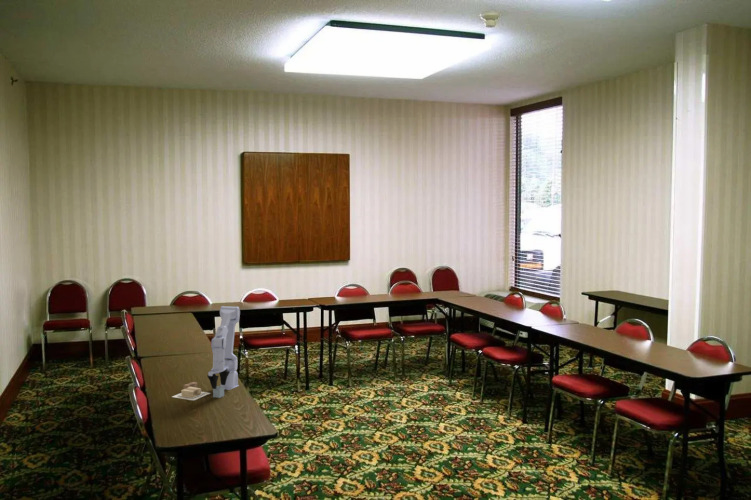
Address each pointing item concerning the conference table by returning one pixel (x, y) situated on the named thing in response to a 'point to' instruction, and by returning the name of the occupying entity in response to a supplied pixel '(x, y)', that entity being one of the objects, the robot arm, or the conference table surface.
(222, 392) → the grey rectangular block
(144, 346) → the conference table surface
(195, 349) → the conference table surface
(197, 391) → the maple slab
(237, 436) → the conference table surface
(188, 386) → the walnut bar
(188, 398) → the white square board
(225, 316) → the robot arm
